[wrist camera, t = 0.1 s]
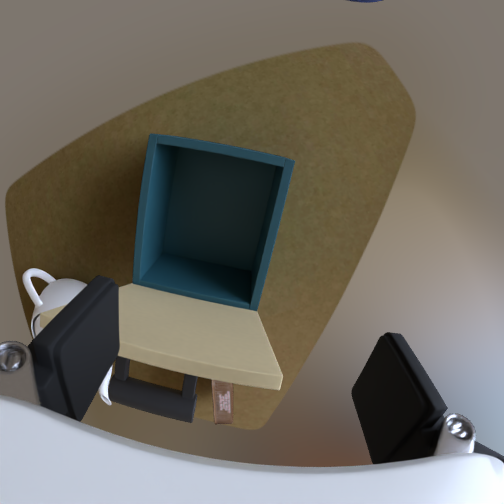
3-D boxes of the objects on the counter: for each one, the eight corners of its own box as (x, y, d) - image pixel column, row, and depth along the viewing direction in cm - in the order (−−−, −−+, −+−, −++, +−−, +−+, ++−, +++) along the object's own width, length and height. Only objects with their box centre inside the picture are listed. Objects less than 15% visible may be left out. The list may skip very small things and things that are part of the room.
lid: (39, 312, 12) (41, 393, 12) (283, 376, 13) (260, 455, 13) (131, 283, 27) (124, 330, 27) (257, 311, 28) (246, 359, 28)
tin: (213, 319, 39) (204, 359, 31) (236, 320, 39) (232, 361, 31) (216, 394, 44) (211, 434, 36) (236, 396, 44) (233, 436, 36)
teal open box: (175, 136, 31) (149, 133, 23) (285, 157, 32) (295, 160, 24) (157, 254, 36) (132, 285, 28) (256, 275, 37) (256, 312, 29)
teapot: (28, 271, 38) (-14, 301, 27) (78, 234, 35) (31, 264, 25) (101, 376, 44) (77, 419, 34) (159, 359, 42) (139, 410, 32)
